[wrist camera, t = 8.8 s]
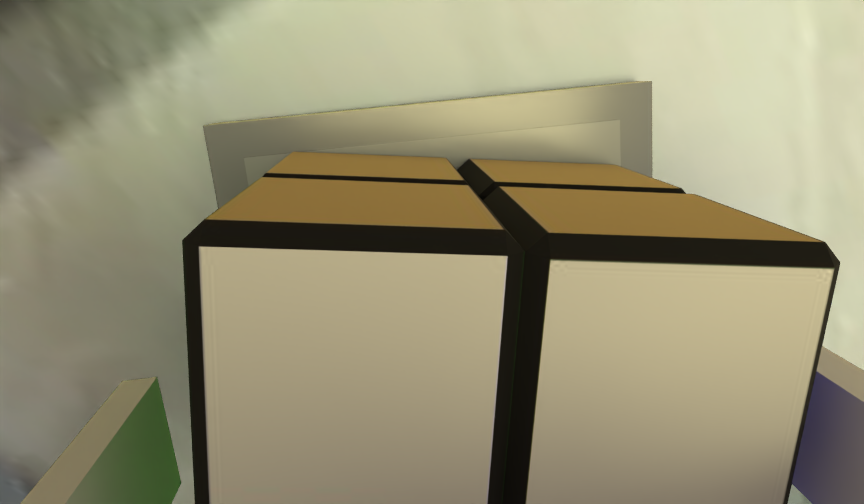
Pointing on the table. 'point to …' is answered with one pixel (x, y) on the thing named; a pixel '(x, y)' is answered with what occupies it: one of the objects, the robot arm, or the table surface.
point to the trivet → (449, 132)
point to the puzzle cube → (496, 338)
